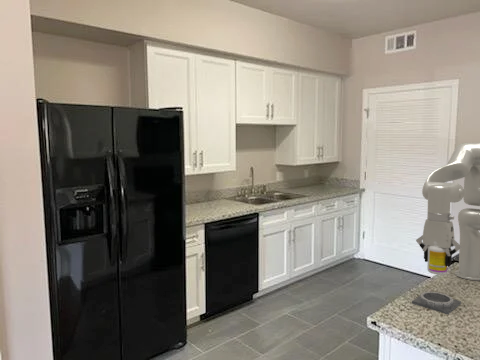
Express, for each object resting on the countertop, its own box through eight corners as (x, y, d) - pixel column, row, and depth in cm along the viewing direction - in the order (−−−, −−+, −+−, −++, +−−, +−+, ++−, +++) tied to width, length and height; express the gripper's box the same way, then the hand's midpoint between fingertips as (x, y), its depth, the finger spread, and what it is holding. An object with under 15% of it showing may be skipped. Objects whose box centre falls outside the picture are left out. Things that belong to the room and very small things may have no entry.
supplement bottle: (449, 275, 136) (450, 242, 135) (430, 274, 138) (431, 241, 136) (443, 269, 143) (444, 237, 142) (425, 269, 144) (425, 237, 143)
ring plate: (426, 294, 150) (426, 288, 150) (461, 303, 141) (461, 297, 140) (411, 303, 142) (412, 297, 142) (448, 314, 132) (448, 307, 132)
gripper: (467, 218, 134) (466, 266, 136) (419, 213, 147) (418, 256, 149) (460, 221, 129) (458, 271, 131) (411, 215, 142) (410, 260, 144)
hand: (437, 262), depth 140 cm, fingers closed on supplement bottle, 6 cm apart
